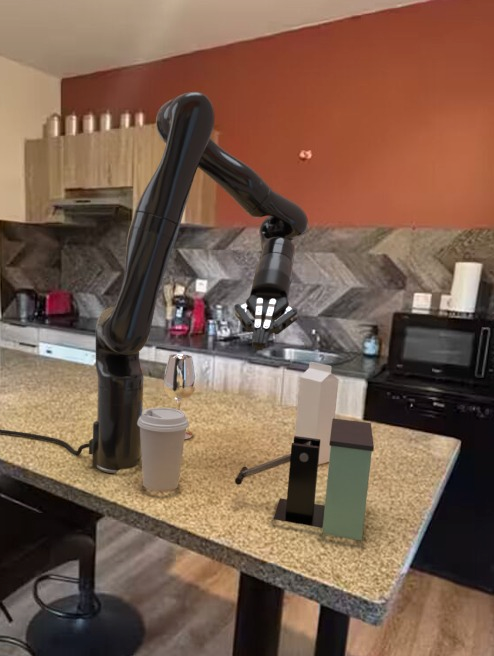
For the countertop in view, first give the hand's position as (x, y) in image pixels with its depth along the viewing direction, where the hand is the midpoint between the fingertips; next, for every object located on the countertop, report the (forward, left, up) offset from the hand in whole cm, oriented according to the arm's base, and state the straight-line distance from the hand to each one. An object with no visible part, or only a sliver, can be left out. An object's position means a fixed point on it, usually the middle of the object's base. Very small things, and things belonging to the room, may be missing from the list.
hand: (258, 347), depth 104 cm
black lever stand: (+11, -11, -27) cm, 31 cm away
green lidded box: (+18, -11, -27) cm, 34 cm away
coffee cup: (-15, -9, -27) cm, 33 cm away
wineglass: (-22, +24, -27) cm, 43 cm away
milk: (+11, +20, -27) cm, 36 cm away
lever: (+6, -11, -19) cm, 23 cm away
